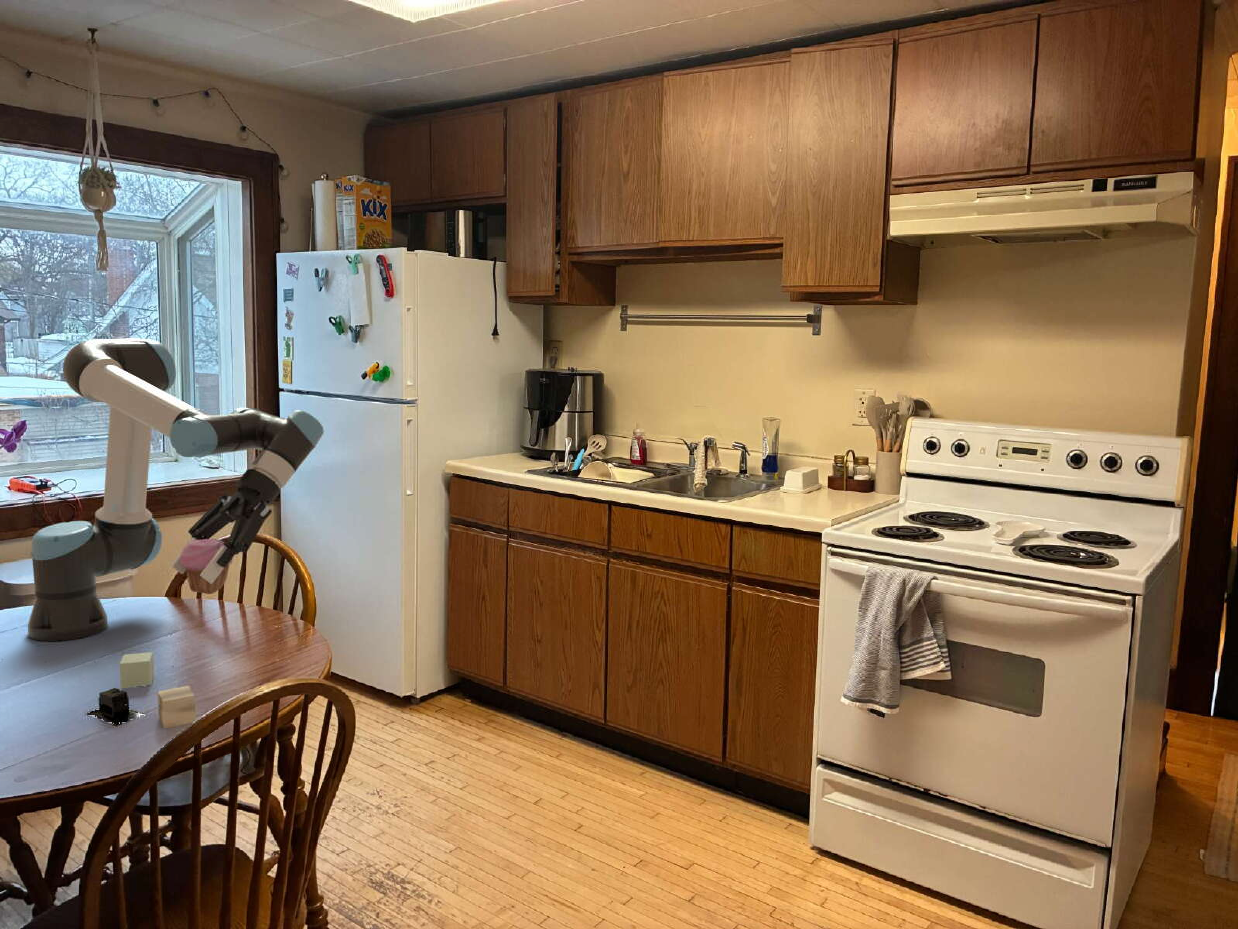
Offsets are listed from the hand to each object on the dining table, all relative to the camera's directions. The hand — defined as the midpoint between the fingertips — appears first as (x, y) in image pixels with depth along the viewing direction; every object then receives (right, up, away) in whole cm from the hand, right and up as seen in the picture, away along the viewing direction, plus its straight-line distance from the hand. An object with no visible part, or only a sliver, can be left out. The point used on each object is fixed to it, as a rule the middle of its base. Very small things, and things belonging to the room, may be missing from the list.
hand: (191, 574), depth 172 cm
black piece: (-10, -24, -8) cm, 27 cm away
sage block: (-13, -21, +6) cm, 26 cm away
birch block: (+2, -24, -10) cm, 26 cm away
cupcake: (+2, -4, +3) cm, 5 cm away
